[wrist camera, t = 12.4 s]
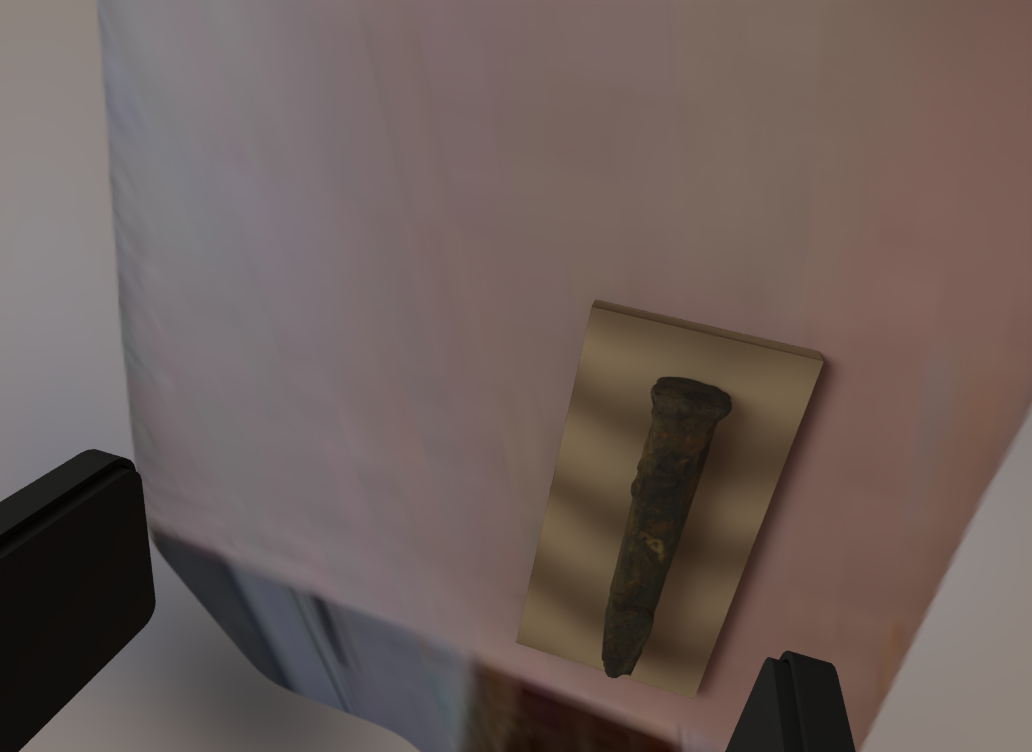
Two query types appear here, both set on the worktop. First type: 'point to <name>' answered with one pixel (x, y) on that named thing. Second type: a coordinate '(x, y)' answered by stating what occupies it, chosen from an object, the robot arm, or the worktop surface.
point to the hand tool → (658, 511)
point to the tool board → (613, 467)
